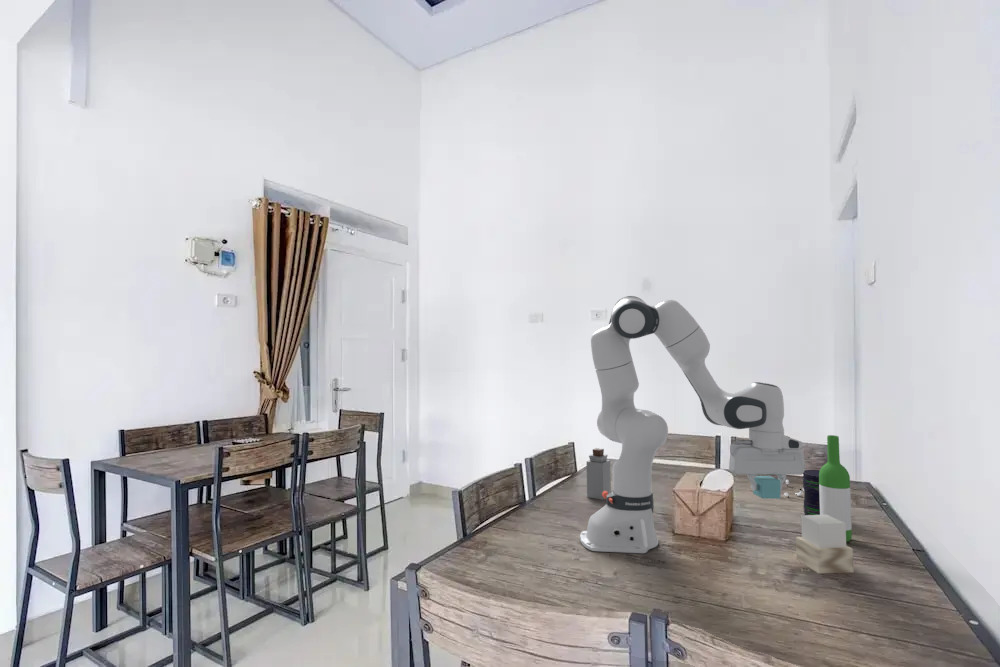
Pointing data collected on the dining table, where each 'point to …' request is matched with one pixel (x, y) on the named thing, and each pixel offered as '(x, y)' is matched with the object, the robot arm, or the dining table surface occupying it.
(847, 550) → the birch base block
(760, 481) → the teal cube
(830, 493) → the wine bottle
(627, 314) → the robot arm
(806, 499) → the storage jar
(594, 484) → the perfume bottle
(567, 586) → the dining table surface
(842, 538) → the white middle block
